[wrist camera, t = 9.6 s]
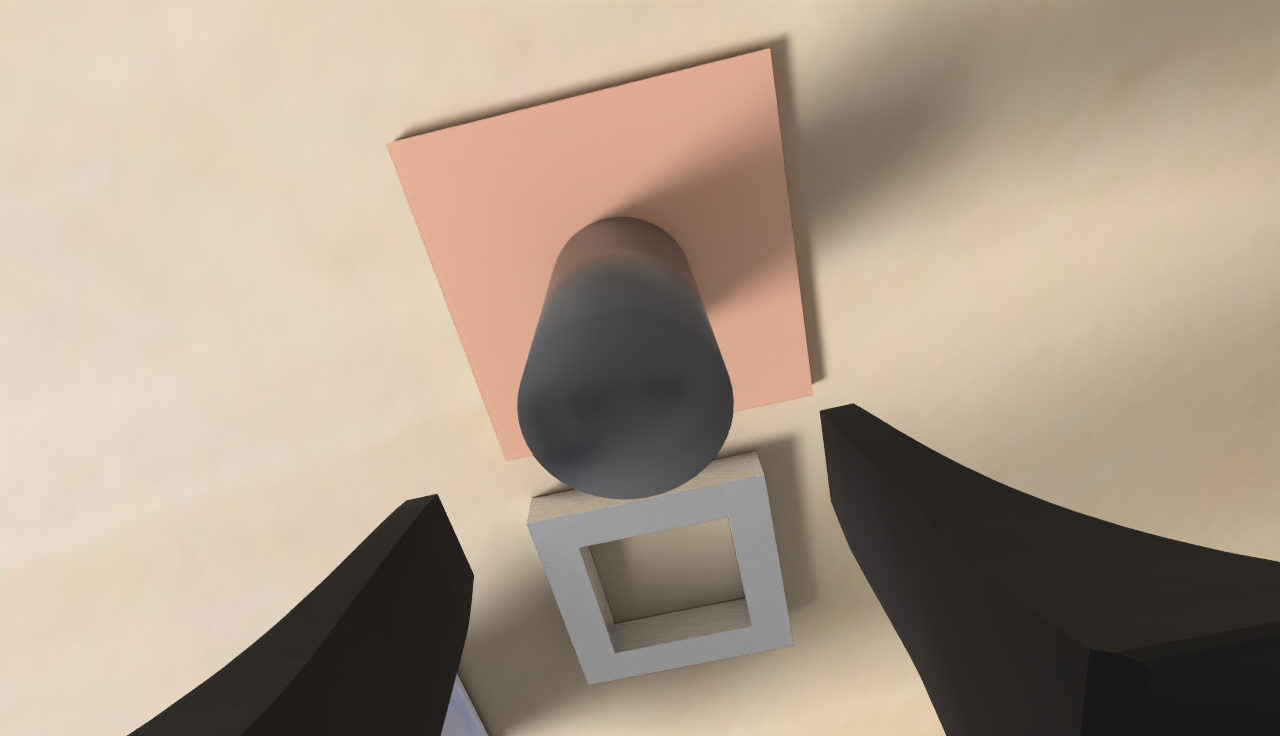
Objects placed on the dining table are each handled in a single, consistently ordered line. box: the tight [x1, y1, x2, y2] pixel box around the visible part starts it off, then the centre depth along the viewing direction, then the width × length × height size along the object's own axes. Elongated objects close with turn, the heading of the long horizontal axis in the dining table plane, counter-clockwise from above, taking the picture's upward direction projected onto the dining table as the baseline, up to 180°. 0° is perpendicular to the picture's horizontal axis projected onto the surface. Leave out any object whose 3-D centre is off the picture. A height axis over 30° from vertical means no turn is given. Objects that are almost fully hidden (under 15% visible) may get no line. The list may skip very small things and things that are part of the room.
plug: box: [517, 217, 734, 500], centre depth 17 cm, size 4×4×8 cm
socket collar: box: [527, 451, 794, 685], centre depth 25 cm, size 9×9×2 cm
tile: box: [386, 49, 813, 461], centre depth 21 cm, size 11×11×1 cm
